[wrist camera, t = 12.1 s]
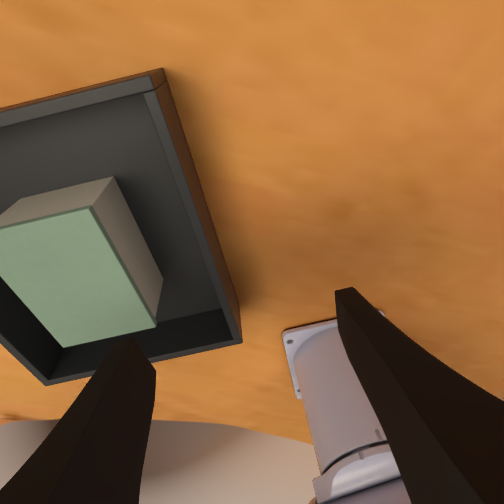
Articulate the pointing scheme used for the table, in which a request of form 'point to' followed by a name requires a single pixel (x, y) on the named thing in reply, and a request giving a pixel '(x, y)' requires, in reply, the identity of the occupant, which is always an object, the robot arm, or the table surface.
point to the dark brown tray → (140, 204)
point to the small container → (80, 262)
